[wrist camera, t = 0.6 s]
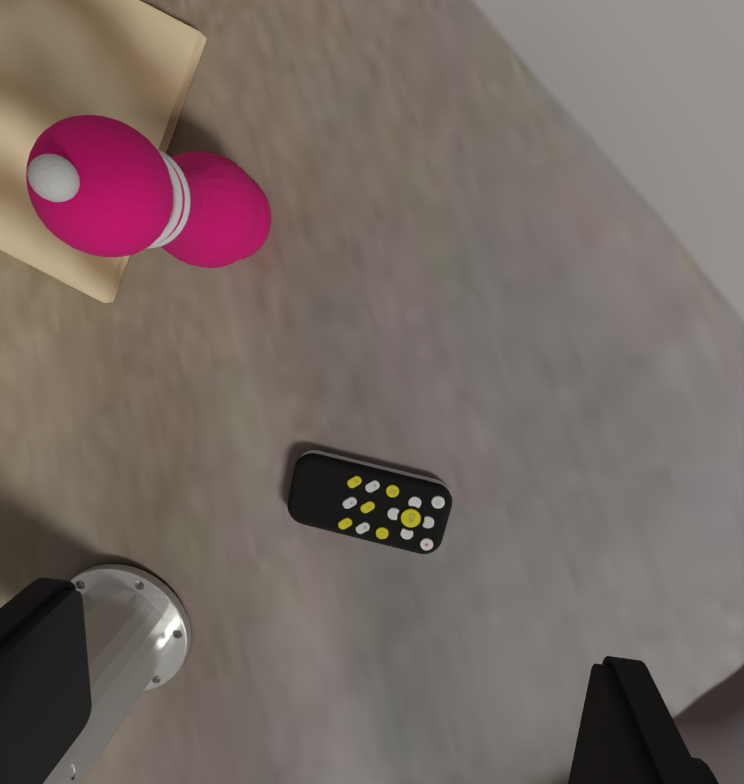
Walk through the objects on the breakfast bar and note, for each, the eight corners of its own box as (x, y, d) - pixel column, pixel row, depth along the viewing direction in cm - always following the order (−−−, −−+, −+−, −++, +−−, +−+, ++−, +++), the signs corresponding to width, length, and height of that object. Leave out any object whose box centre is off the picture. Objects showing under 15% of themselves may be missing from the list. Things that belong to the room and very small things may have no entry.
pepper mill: (183, 263, 41) (-39, 266, 22) (181, 161, 39) (-63, 64, 20) (277, 270, 40) (133, 279, 21) (279, 166, 38) (125, 71, 19)
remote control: (301, 443, 44) (295, 452, 42) (456, 481, 43) (457, 491, 41) (288, 511, 45) (282, 523, 43) (437, 549, 45) (437, 562, 43)
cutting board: (113, 301, 42) (104, 303, 41) (-72, 207, 42) (-86, 205, 41) (206, 38, 37) (199, 31, 36) (-3, -71, 37) (-17, -82, 36)
